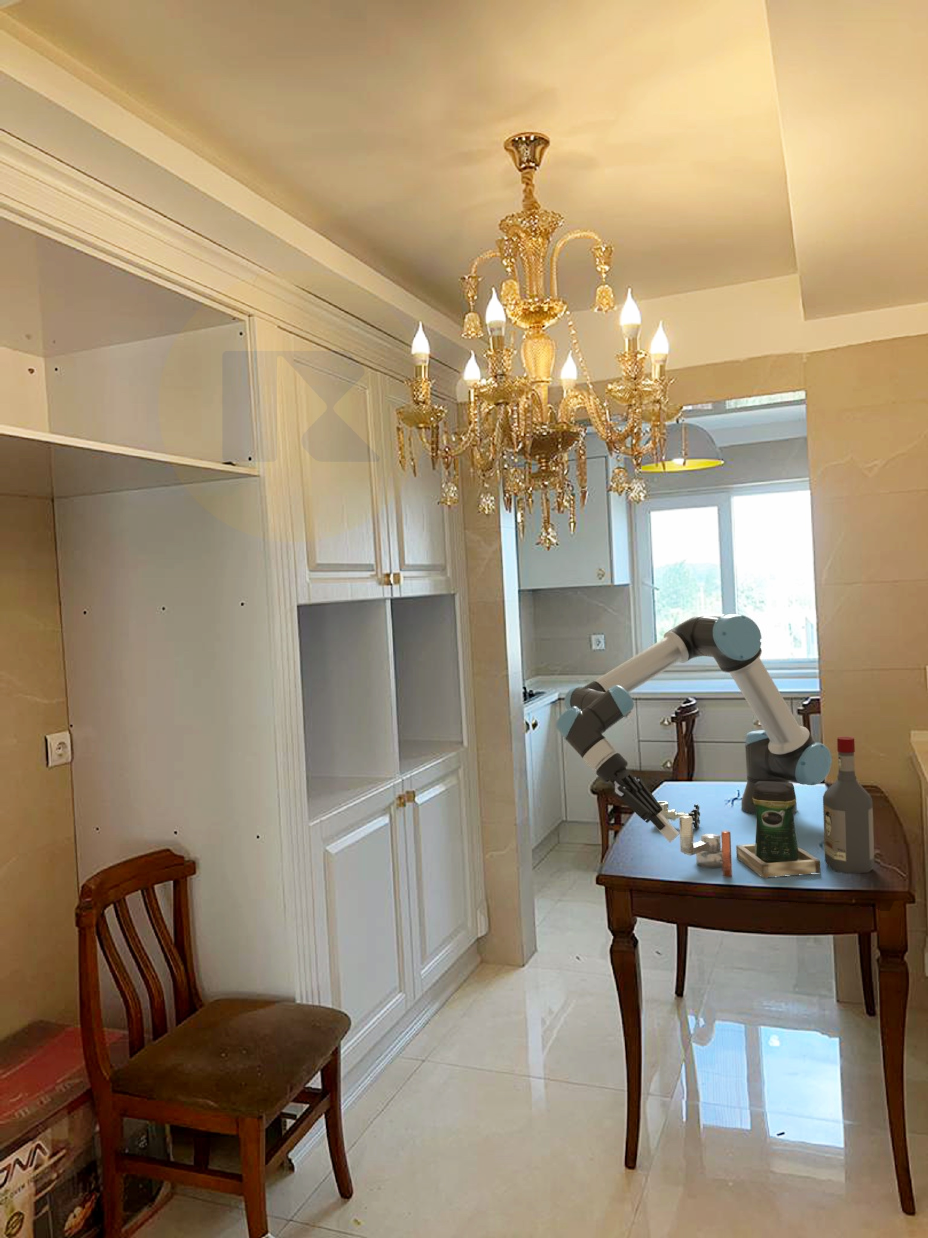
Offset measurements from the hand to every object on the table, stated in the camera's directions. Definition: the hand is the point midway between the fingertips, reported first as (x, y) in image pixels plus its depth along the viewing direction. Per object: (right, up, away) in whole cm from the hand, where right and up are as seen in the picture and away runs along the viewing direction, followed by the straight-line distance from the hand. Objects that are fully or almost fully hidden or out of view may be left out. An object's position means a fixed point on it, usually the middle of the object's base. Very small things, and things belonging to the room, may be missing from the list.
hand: (674, 838), depth 211 cm
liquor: (+40, -6, -2) cm, 40 cm away
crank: (+7, -4, +2) cm, 8 cm away
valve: (+9, -6, +37) cm, 39 cm away
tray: (+24, -7, +1) cm, 25 cm away
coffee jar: (+24, -6, +1) cm, 25 cm away
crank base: (+10, -7, +2) cm, 13 cm away
